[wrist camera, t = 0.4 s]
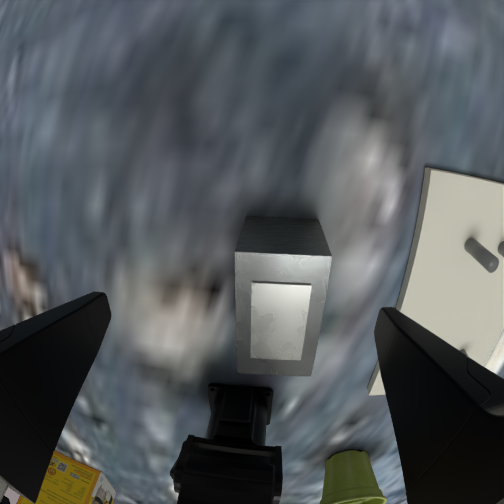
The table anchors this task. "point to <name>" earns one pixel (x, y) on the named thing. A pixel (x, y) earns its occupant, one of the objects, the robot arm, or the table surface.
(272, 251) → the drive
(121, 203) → the table surface
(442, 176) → the peg board
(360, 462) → the plant pot
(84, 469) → the packaging box
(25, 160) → the table surface
